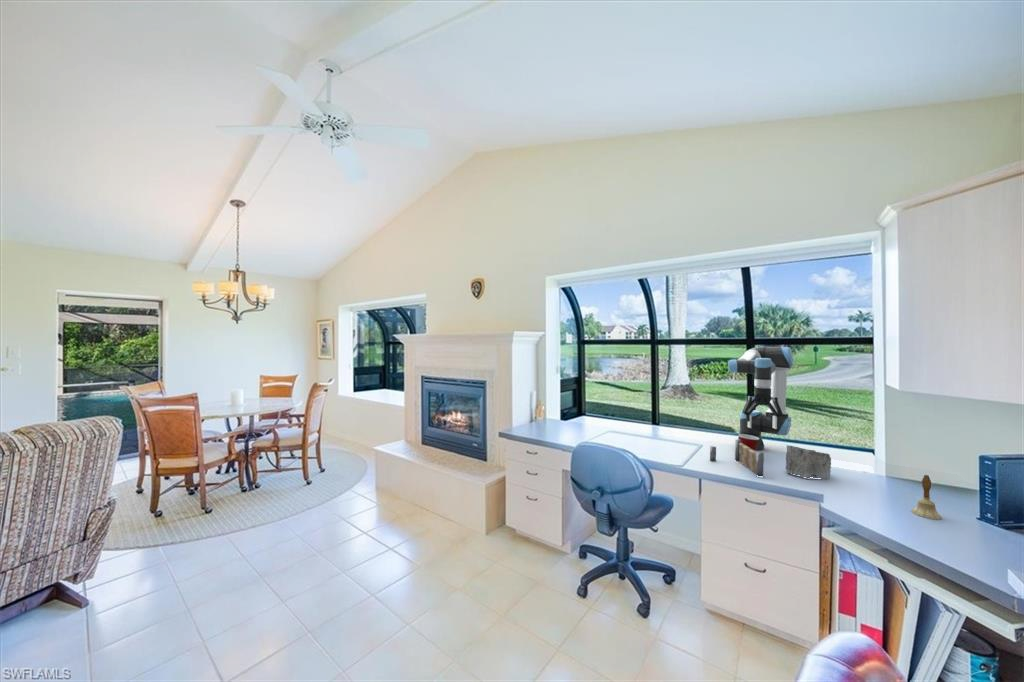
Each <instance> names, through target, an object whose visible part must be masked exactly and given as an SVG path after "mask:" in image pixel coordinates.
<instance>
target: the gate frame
mask: <svg viewBox="0 0 1024 682" xmlns="http://www.w3.org/2000/svg"><path fill="white" fill-rule="evenodd" d="M734 441H735V443H734V445H735V446H734V461H735V460H736V461H735V462H737V461H739V443H741V442H742V440H740V439H738V438H736V439H735V440H734ZM756 452H757V451H756ZM764 456H765V454H764V453H763V452H761V451H760V452H759V451H758V452H757V462H756V473H755V474H756V475H758V476H763V477H764V461H765V458H764ZM709 461H710V462H713V461H715V462H717V446H715V445H710V446H709ZM756 475H755V476H756Z"/></svg>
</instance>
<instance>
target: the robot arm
mask: <svg viewBox="0 0 1024 682" xmlns="http://www.w3.org/2000/svg"><path fill="white" fill-rule="evenodd" d="M793 355H794V354H793V351H792V349H791V348H790V347H788V346H756V347H753V348H750V349H747V350H746V351H744V353H743V355H742V356H741V357H740V358H738V359H729V360H728V362H727V363H728V365H727V369H728V371H729V372H730V373H735V374H749V375H750V374H751V375H754V384H753V385H754V387H753V390H754V391H753V394H754V396H750V395H748V396H747V400H746V403H745V405H744V407H743V409H742V411H741V412H740V415H739V434H746V435H751V436H755V437H758V438H759V440H758V442H757V445H756V449H755V451H763V450H764V449H765V444H764V441H763V438H762V433H764V434H771V435H777V436H787V435H788V434H789V433H790V430H791V426H792V417H791V416H789V412H788V411H787V410H786V407H787V406H786V405H787V403H786V402H787V383H788V382H787V381H788V380H787V379H788V372H789V371H790V369H791V367H794V356H793ZM763 405H764V406H767V407H768V409H766V410H765V413H763V412H762V411H761V410H758V409H757V407H758V406H763ZM755 409H756V410H755ZM737 439H739V436H738V438H737Z"/></svg>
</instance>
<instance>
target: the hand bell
mask: <svg viewBox="0 0 1024 682" xmlns="http://www.w3.org/2000/svg"><path fill="white" fill-rule="evenodd" d="M921 487H922V488H923V489H922V490H923V498H921V499H918V501H917V505H916V506H915V508H912V509H911V510H910V511H911V513H913V514H914V515H916V516H918V517H921V518H926V519H929V520H937V521H939V520H942V516H941V515H940V514H939V512H938V511H937V508H936V503H935V502H934V501H932V500H931V497H930V490H931V489H932V480H931V478H930V475H928V474H923V478H922V479H921Z"/></svg>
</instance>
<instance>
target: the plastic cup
mask: <svg viewBox="0 0 1024 682" xmlns="http://www.w3.org/2000/svg"><path fill="white" fill-rule="evenodd" d="M738 437H739V439H740V440H742V442H741V443H743V444H744V445H746V446H747V447H749V448H751V449H752V450H754V451H756V450H755V449H756V445H757V442H758V440H759V438H758V437H755V436H751V435H746V434H740V433H738Z"/></svg>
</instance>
